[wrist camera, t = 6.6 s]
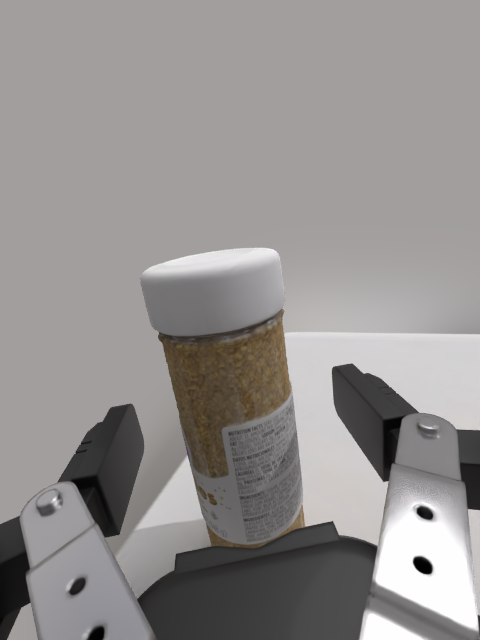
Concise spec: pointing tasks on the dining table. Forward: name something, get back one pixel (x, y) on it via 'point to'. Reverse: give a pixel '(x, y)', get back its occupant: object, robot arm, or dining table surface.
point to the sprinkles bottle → (231, 388)
